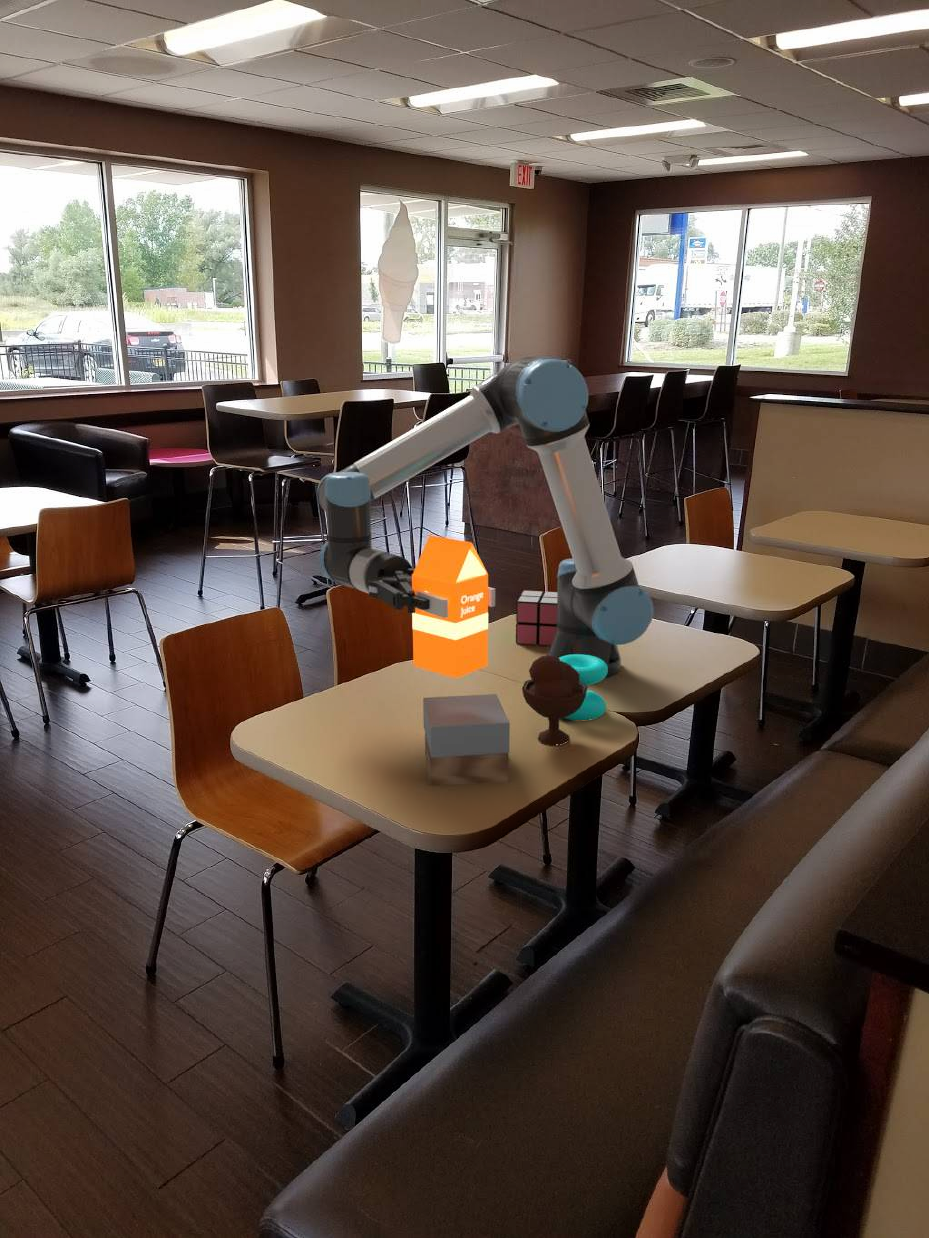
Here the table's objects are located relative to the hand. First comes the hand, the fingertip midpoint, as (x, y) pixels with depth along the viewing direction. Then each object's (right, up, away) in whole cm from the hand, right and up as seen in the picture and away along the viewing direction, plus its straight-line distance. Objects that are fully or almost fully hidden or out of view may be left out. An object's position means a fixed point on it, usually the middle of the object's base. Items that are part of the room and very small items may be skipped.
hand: (470, 603), depth 137 cm
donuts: (+20, -20, +32) cm, 43 cm away
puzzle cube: (+17, -7, +74) cm, 77 cm away
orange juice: (-3, -10, +7) cm, 12 cm away
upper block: (-1, -21, +10) cm, 23 cm away
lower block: (-1, -26, +11) cm, 28 cm away
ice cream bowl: (+14, -23, +21) cm, 34 cm away
